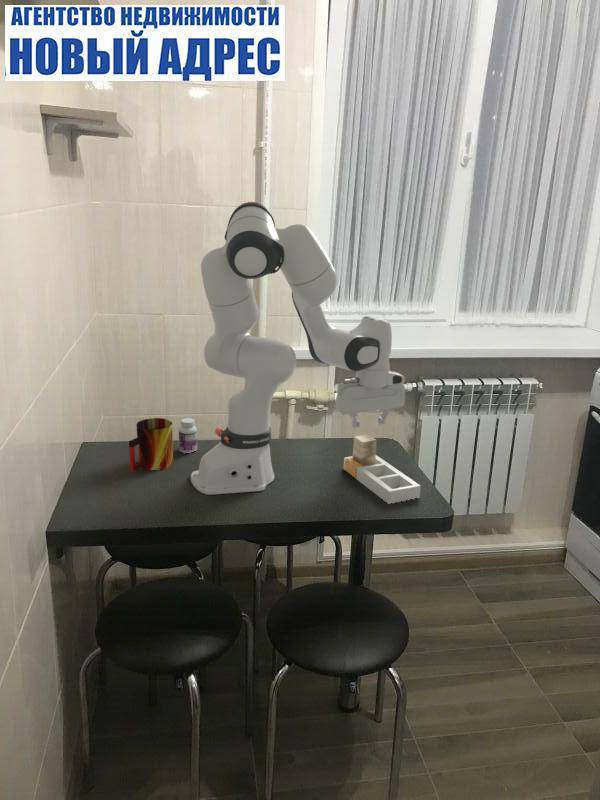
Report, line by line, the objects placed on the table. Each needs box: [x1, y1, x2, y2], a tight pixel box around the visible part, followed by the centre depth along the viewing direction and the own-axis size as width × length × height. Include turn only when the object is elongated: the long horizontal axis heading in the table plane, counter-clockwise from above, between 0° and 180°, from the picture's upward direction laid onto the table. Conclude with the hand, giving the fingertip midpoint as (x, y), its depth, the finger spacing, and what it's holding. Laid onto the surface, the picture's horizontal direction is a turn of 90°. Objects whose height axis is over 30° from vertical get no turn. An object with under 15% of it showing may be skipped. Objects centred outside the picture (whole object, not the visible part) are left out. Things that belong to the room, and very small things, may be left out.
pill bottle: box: [178, 417, 198, 454], centre depth 189 cm, size 5×5×10 cm
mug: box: [128, 417, 174, 473], centre depth 177 cm, size 10×14×12 cm
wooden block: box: [352, 434, 378, 467], centre depth 179 cm, size 5×5×10 cm
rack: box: [343, 454, 421, 505], centre depth 173 cm, size 10×24×4 cm, turn 25°
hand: (368, 425), depth 176 cm, fingers open, 7 cm apart
